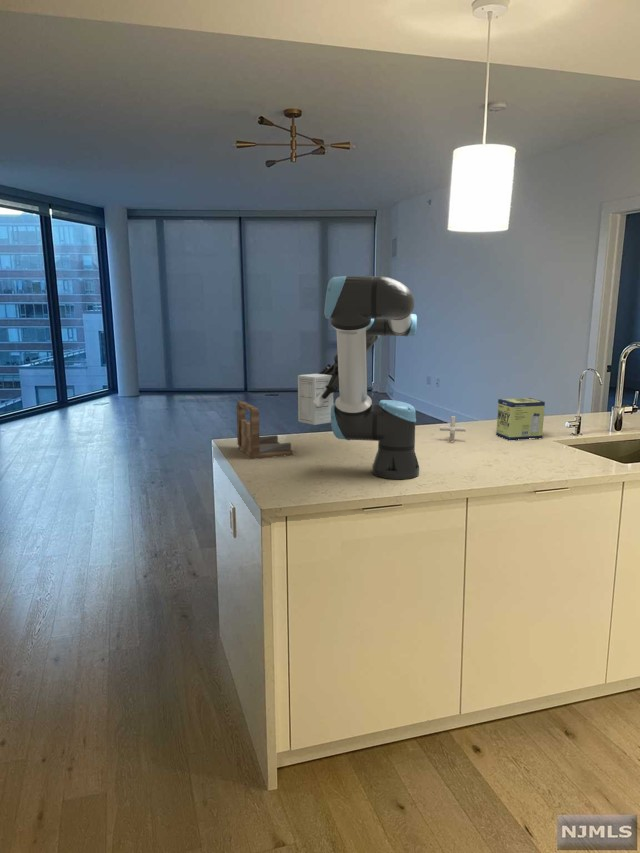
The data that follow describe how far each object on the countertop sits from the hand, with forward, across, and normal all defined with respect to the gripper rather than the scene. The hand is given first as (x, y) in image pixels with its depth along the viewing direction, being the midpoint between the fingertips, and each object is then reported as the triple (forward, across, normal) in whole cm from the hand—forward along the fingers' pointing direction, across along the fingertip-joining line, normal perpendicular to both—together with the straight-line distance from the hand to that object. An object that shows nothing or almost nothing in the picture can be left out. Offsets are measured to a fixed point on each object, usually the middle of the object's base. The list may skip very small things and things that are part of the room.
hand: (308, 402), depth 212 cm
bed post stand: (+22, +12, -5) cm, 26 cm away
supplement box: (+3, 0, -7) cm, 8 cm away
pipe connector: (-30, -2, -57) cm, 65 cm away
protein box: (-51, -7, -78) cm, 94 cm away
